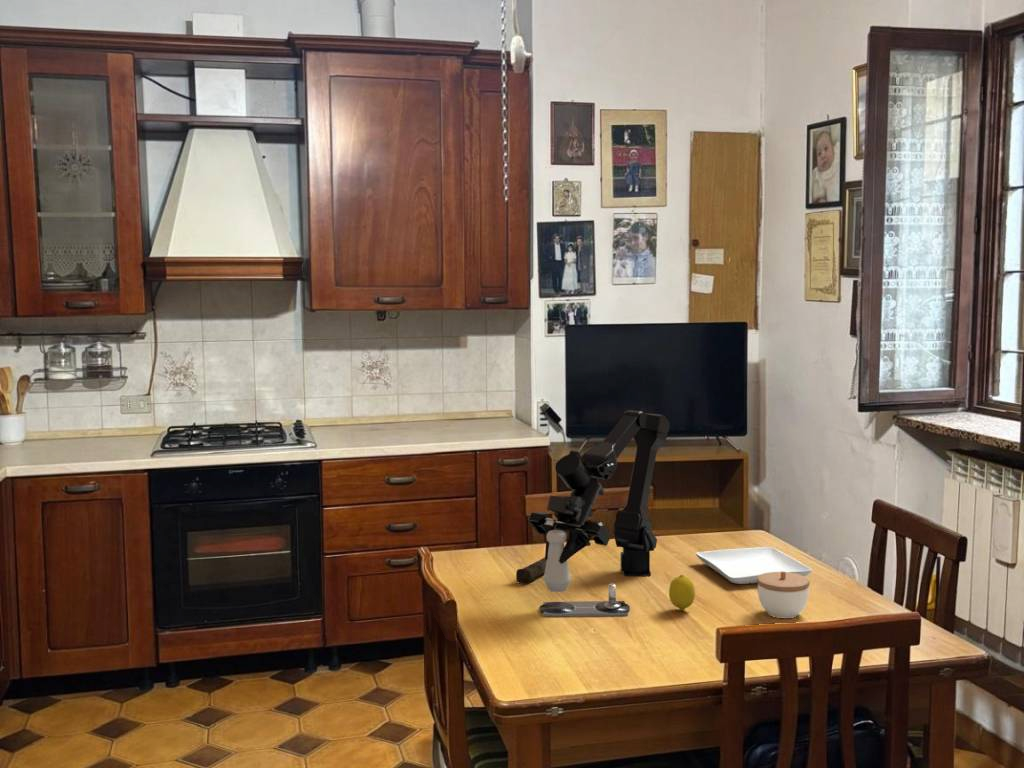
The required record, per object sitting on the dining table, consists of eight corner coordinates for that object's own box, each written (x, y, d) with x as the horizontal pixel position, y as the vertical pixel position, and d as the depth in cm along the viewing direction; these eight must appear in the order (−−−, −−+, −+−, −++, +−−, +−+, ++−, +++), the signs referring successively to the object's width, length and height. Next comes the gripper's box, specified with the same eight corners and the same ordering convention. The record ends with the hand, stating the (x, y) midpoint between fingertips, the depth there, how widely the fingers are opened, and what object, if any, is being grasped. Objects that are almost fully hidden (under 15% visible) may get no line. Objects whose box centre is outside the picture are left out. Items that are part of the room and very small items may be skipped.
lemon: (696, 607, 226) (696, 572, 225) (692, 615, 221) (692, 579, 220) (671, 605, 228) (671, 570, 227) (666, 613, 222) (666, 577, 222)
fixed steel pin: (619, 604, 227) (619, 582, 226) (621, 609, 224) (621, 587, 223) (603, 604, 227) (603, 582, 227) (604, 609, 224) (604, 587, 223)
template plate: (628, 603, 229) (627, 600, 229) (631, 615, 221) (631, 613, 221) (539, 604, 230) (539, 601, 230) (540, 616, 222) (539, 614, 222)
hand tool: (529, 586, 243) (529, 567, 243) (515, 583, 246) (515, 564, 245) (571, 566, 259) (570, 548, 258) (557, 564, 261) (557, 546, 261)
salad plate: (814, 582, 243) (814, 568, 243) (731, 591, 238) (731, 576, 237) (771, 558, 263) (771, 544, 263) (693, 565, 258) (693, 552, 258)
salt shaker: (566, 594, 222) (565, 535, 220) (541, 592, 223) (540, 533, 222) (573, 585, 227) (572, 528, 226) (548, 583, 229) (547, 526, 227)
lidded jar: (819, 617, 218) (820, 574, 217) (779, 626, 214) (780, 582, 213) (785, 603, 228) (785, 561, 227) (746, 611, 223) (746, 568, 222)
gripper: (531, 476, 231) (502, 535, 224) (602, 485, 220) (574, 548, 213) (552, 503, 238) (525, 561, 231) (622, 514, 227) (595, 575, 220)
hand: (553, 561), depth 223 cm, fingers closed on salt shaker, 3 cm apart
